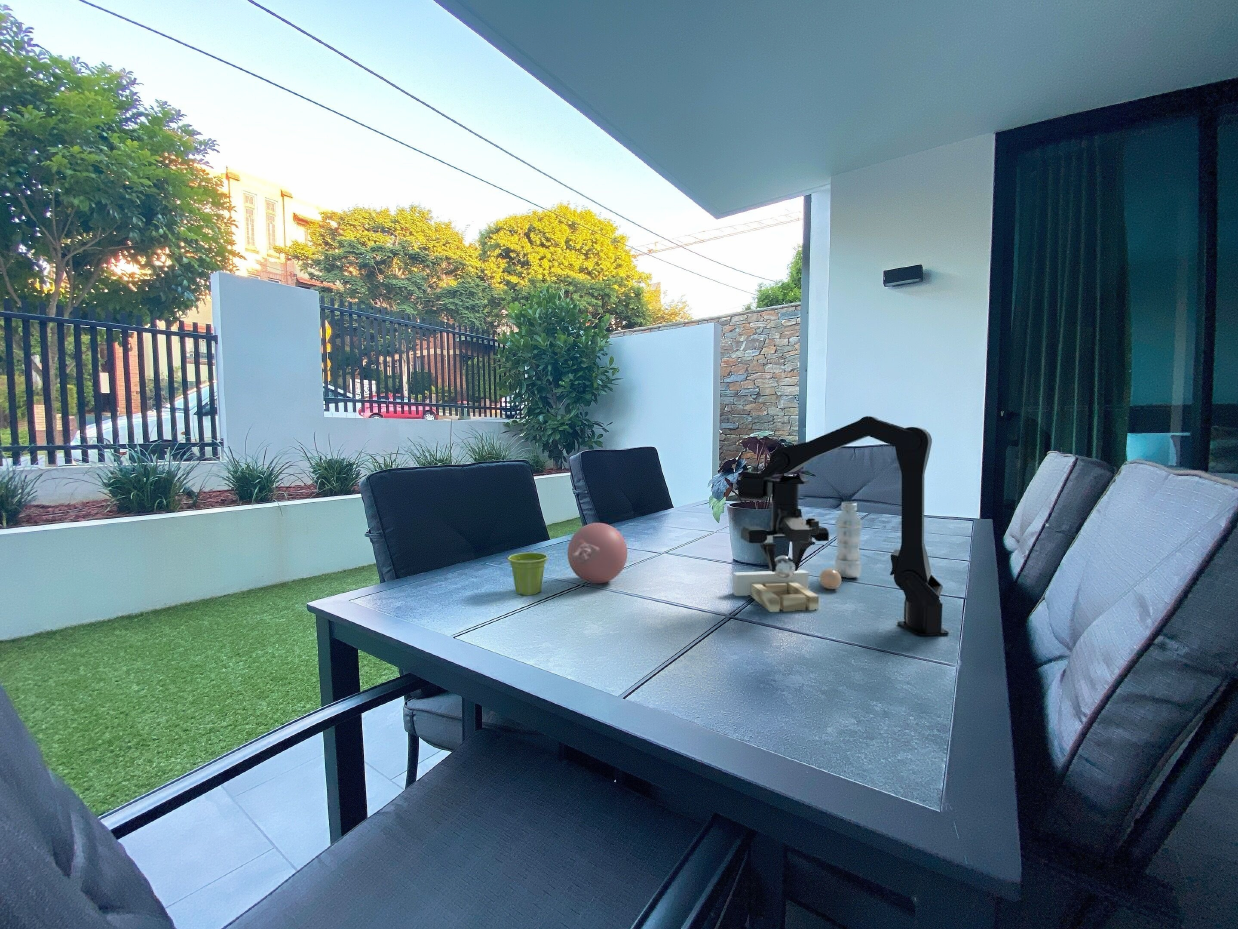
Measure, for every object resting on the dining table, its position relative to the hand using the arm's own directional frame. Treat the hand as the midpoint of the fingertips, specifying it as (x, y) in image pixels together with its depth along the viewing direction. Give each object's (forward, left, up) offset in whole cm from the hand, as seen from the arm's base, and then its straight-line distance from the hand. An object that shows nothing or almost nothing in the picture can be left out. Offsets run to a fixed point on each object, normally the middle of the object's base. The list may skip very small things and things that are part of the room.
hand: (783, 571), depth 117 cm
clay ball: (+8, -16, -5) cm, 18 cm away
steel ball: (0, 0, +1) cm, 1 cm away
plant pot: (+15, +58, -7) cm, 60 cm away
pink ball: (+19, +42, -7) cm, 47 cm away
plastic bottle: (+17, -26, -7) cm, 32 cm away
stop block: (+7, 0, -7) cm, 10 cm away
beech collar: (0, 0, -7) cm, 7 cm away
